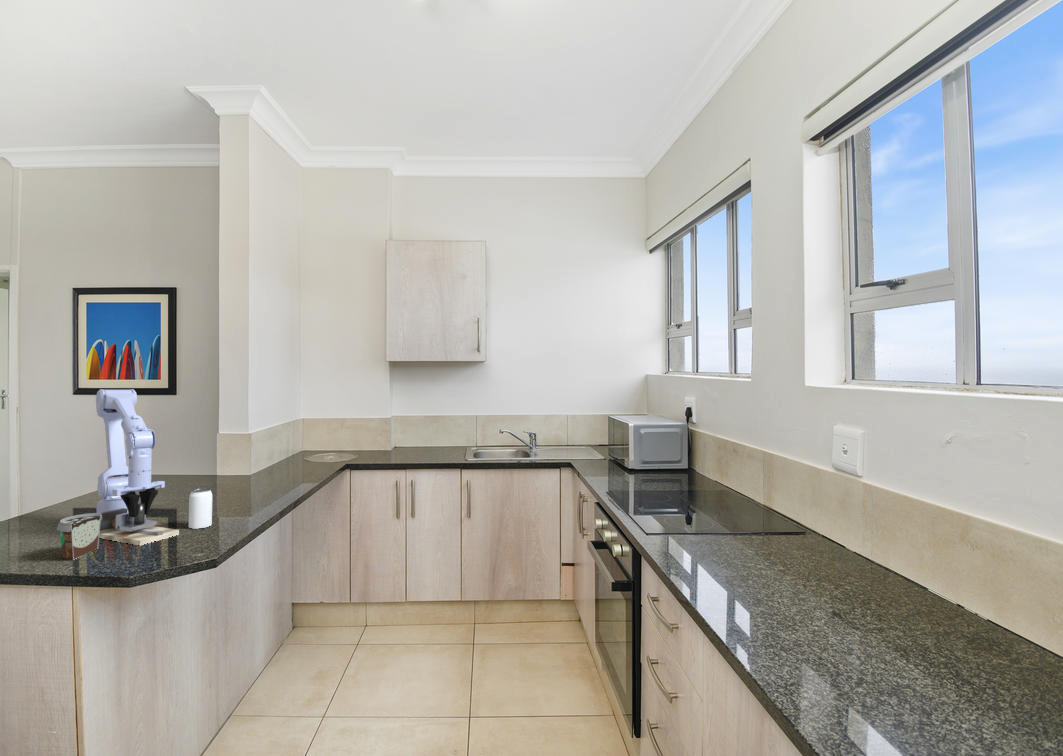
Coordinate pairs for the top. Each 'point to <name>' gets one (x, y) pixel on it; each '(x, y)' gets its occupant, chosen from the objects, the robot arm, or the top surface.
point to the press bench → (132, 537)
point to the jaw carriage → (134, 520)
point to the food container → (79, 534)
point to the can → (200, 508)
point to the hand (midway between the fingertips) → (139, 515)
